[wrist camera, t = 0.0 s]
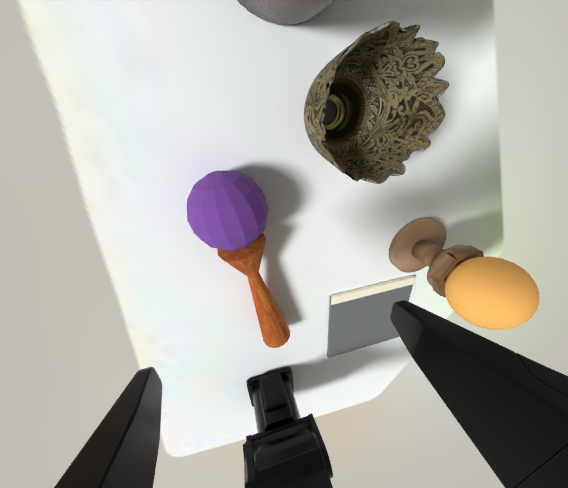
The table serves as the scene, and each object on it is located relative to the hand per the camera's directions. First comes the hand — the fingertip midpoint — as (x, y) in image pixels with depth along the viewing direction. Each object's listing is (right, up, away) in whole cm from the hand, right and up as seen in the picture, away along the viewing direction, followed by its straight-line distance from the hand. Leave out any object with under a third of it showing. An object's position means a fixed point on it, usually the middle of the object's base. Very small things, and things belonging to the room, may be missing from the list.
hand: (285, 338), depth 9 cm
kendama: (-4, +2, +16) cm, 16 cm away
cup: (+3, +14, +11) cm, 18 cm away
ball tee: (+16, +3, +21) cm, 26 cm away
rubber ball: (+18, -1, +13) cm, 22 cm away
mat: (+12, -7, +25) cm, 29 cm away
